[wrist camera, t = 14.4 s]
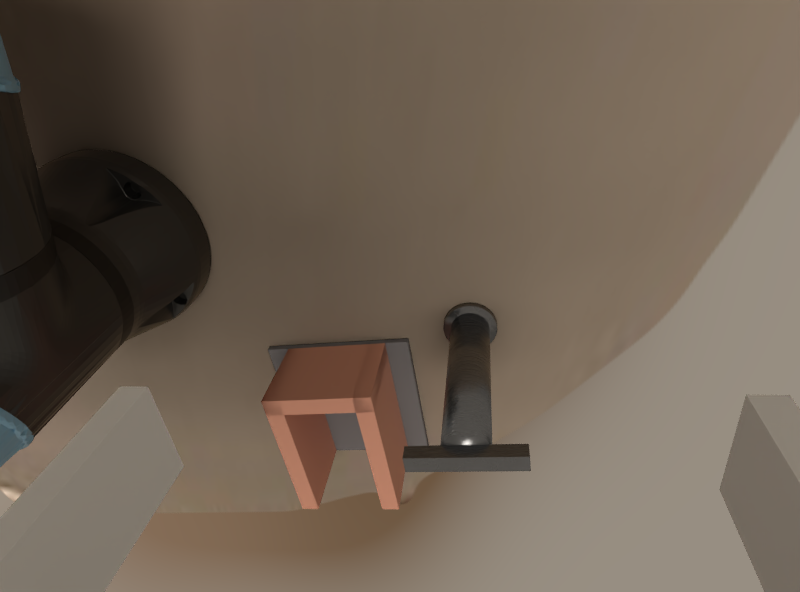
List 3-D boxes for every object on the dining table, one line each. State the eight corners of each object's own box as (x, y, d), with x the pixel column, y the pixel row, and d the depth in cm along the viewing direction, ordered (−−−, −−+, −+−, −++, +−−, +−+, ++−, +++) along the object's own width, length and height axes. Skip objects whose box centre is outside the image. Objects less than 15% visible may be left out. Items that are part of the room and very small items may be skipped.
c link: (322, 450, 54) (303, 508, 48) (288, 348, 48) (261, 401, 42) (408, 448, 53) (398, 509, 47) (384, 343, 46) (370, 397, 40)
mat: (305, 447, 55) (304, 450, 55) (269, 346, 49) (268, 349, 48) (428, 444, 53) (428, 448, 52) (408, 338, 46) (407, 341, 46)
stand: (429, 348, 46) (409, 489, 34) (422, 306, 44) (398, 439, 32) (517, 343, 45) (531, 489, 32) (514, 299, 43) (528, 437, 30)
